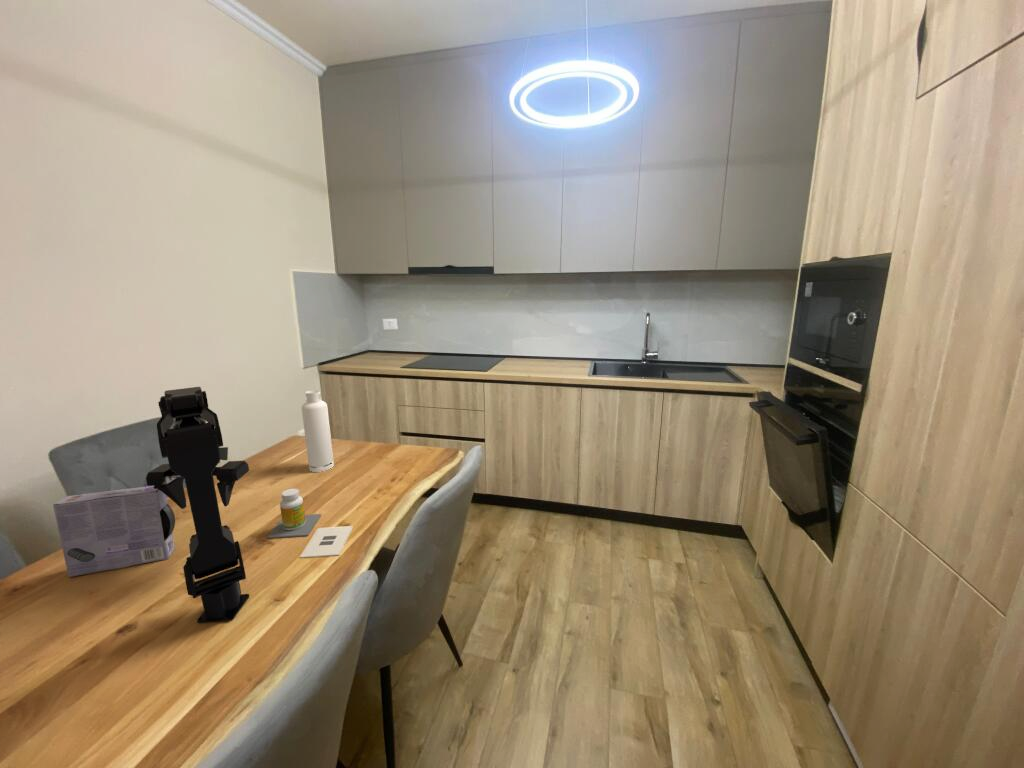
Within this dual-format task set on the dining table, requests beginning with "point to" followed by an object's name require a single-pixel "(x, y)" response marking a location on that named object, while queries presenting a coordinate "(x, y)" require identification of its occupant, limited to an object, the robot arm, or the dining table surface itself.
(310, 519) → the slate mat
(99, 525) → the cake pan box
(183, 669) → the dining table surface
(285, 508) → the supplement bottle
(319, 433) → the bottle
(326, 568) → the dining table surface
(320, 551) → the tile
